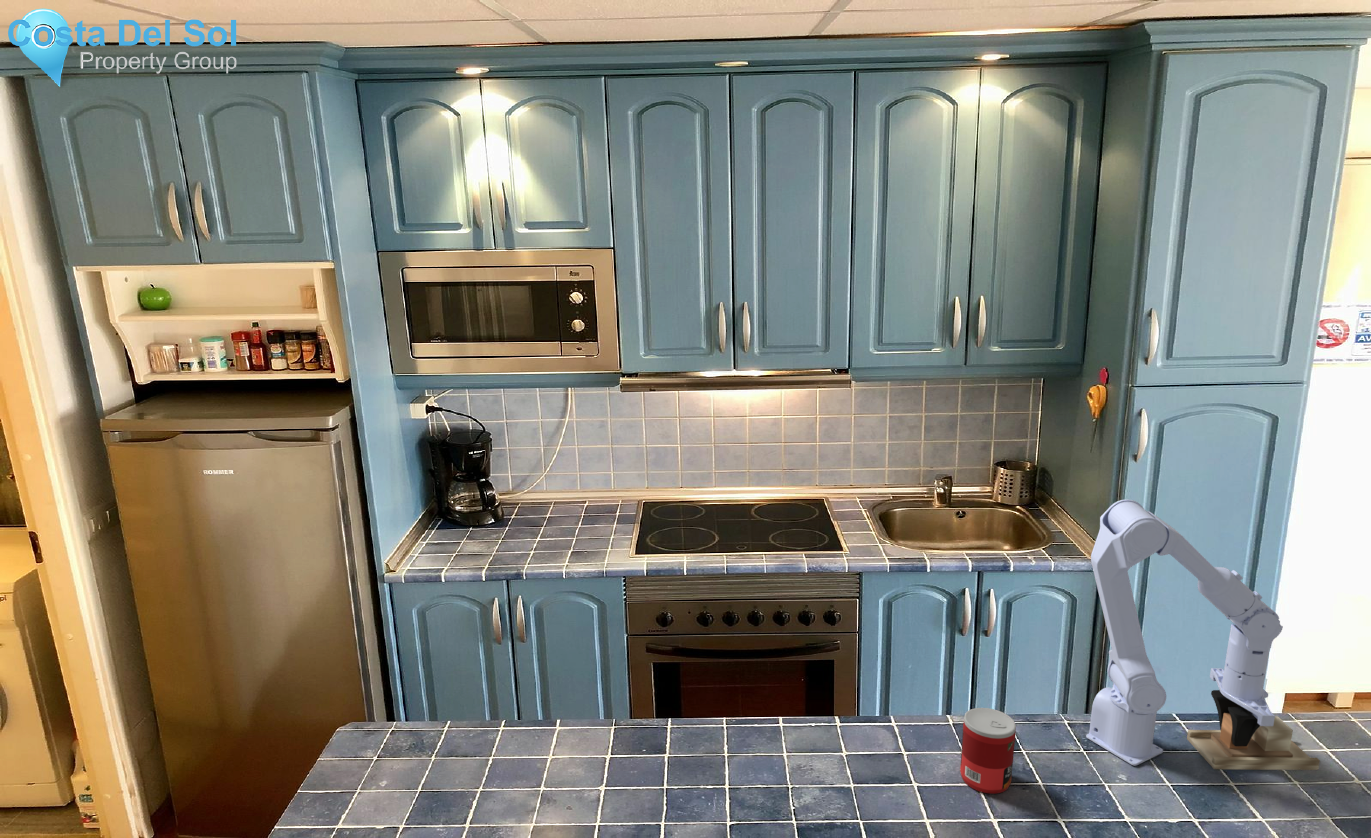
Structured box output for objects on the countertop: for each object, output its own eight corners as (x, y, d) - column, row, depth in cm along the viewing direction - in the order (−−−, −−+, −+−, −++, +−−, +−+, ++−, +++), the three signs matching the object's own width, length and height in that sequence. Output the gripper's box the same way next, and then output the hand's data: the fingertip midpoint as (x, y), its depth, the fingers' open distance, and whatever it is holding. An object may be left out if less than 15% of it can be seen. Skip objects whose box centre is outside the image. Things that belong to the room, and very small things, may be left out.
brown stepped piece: (1231, 759, 142) (1236, 728, 141) (1210, 738, 148) (1215, 707, 147) (1292, 760, 142) (1297, 728, 140) (1269, 738, 148) (1274, 707, 146)
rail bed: (1214, 769, 141) (1215, 759, 141) (1186, 738, 150) (1188, 729, 149) (1318, 770, 141) (1320, 760, 140) (1285, 739, 149) (1286, 730, 149)
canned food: (1014, 798, 135) (1020, 737, 133) (962, 791, 137) (966, 731, 134) (1006, 767, 143) (1011, 709, 140) (957, 762, 144) (961, 704, 142)
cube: (1264, 750, 143) (1268, 729, 142) (1250, 736, 147) (1253, 716, 146) (1289, 751, 143) (1292, 730, 142) (1274, 736, 146) (1277, 716, 146)
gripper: (1298, 691, 134) (1285, 766, 137) (1243, 645, 148) (1232, 714, 152) (1253, 691, 134) (1241, 765, 138) (1202, 645, 149) (1192, 714, 152)
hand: (1233, 739), depth 145 cm, fingers closed on brown stepped piece, 3 cm apart
